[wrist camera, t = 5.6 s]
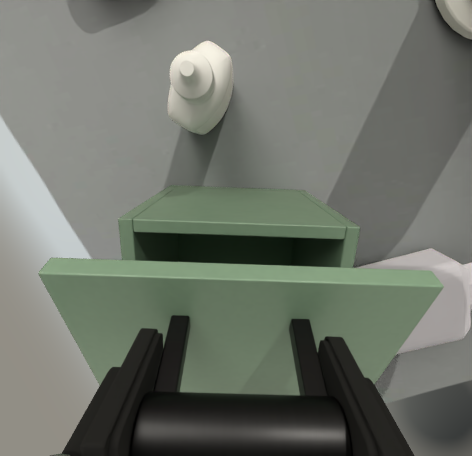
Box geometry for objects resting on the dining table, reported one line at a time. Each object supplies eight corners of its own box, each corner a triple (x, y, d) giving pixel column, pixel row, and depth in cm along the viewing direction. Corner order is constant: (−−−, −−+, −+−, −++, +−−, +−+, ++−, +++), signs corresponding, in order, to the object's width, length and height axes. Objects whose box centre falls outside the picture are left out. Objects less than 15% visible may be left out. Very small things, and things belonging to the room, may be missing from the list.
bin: (170, 185, 27) (117, 218, 15) (304, 190, 27) (361, 227, 15) (175, 324, 32) (138, 435, 20) (288, 328, 32) (321, 440, 20)
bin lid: (50, 256, 9) (-101, 435, 5) (431, 269, 10) (581, 451, 5) (137, 435, 20) (110, 544, 15) (322, 440, 20) (344, 549, 16)
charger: (487, 302, 31) (358, 333, 32) (486, 230, 29) (346, 266, 30) (530, 329, 27) (378, 363, 28) (533, 246, 24) (366, 288, 25)
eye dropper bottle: (246, 109, 25) (256, 80, 14) (195, 140, 26) (164, 137, 14) (223, 63, 24) (212, -12, 12) (170, 97, 25) (114, 56, 13)
